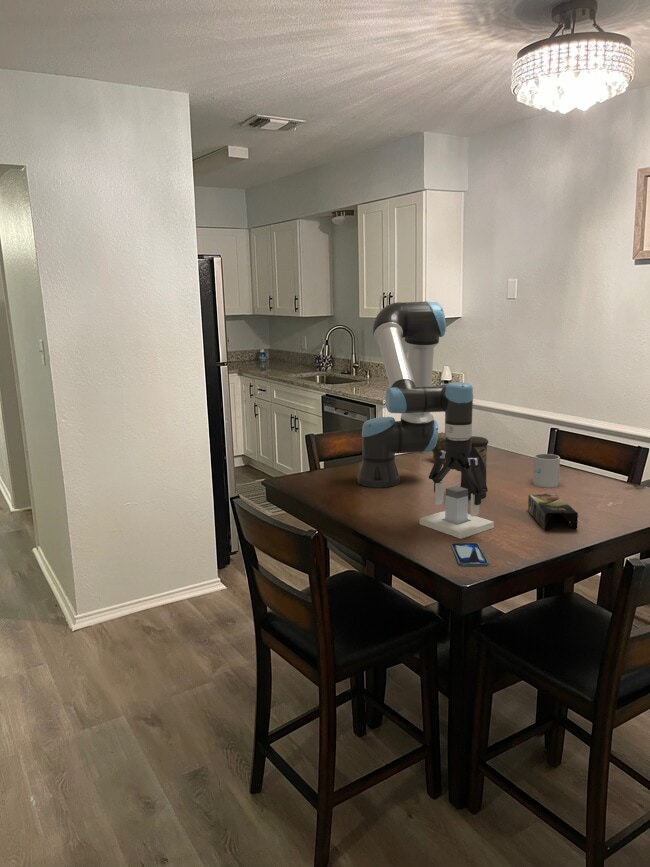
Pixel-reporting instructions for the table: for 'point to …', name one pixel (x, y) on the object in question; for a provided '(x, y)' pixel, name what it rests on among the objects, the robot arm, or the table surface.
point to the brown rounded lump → (439, 445)
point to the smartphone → (469, 554)
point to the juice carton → (550, 509)
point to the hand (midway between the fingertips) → (456, 509)
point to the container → (479, 452)
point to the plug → (456, 505)
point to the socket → (459, 531)
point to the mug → (546, 470)
